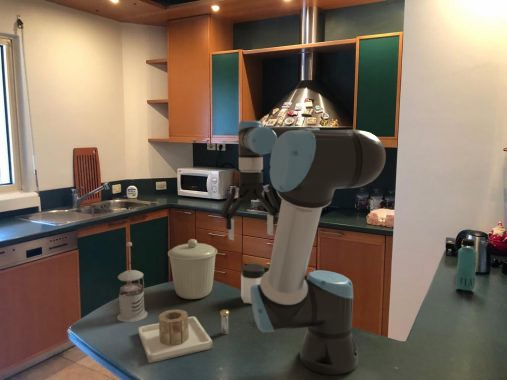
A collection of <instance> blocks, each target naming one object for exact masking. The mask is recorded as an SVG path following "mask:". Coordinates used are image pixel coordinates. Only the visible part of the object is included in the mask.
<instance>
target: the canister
mask: <svg viewBox="0 0 507 380" xmlns="http://www.w3.org/2000/svg"><path fill="white" fill-rule="evenodd" d="M217 254H218V249H217V248H215V247H214V246H213V245H209V244H207V243H201V242H200V243H198V241H197V239H194V238H191V239H189V240H188V241H187V243H183V244H178V245H176V246H174V247H172V248H171V249H170V250H169V251H167V255H168V257H169V259H170V268H171V274H172V281H173V286H174V291H175V293H176V295H177V296H179V297H180V298H181V299H182V298H183V299H186V300H198V299H203V298H205V297H207V296H208V295H209V294H210V293H211V292H212V290H213V283H214V275H215V274H214V273H215V265H216V264H215V263H216V255H217Z"/></svg>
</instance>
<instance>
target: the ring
mask: <svg viewBox="0 0 507 380" xmlns="http://www.w3.org/2000/svg"><path fill="white" fill-rule="evenodd" d="M188 317H189V314H188V312H187V311H186V310H184V309H183V310H182V309H169V310H166V311H162V313H160V314H158V323H159V336H160V342H161V343H162V344H164V345H168V346H170V345H171V346H174V345H179V344H181V343H184V342H185V341H187V340H188V338H189V331H188Z"/></svg>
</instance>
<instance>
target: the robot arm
mask: <svg viewBox="0 0 507 380" xmlns="http://www.w3.org/2000/svg"><path fill="white" fill-rule="evenodd" d="M237 130H238V131H237V134H238V170H239V172H238V187H233V186H230V187H229V191H228V194H227V197H226V200H225V202H224V203H223V206H222V209H221V211H220V213H219V217H220V218H222V219H225V229H227V230H228V239H229V240H231V241H235V219H233V217H234V216H235V214H236V213H237V212H238V210H239V209H240V208H241V206H242V205H243V204H244V203H245V202H249V201H250V202H251V201H257V200H258V201H259V202H260V204H261V205H262V206H263V208H265V210H266V211H267V212H268V214H266V215H267V216H266V217H267V218H266V219H267V220H266V221H267V223H266V226H267V227H266V230H267V231H266V233H267V235H269V236H274V226H275V224H276V216H277V215H278V219H277V224H276V231H275V236H274V240H273V245H272V246H273V247H272V250H271V251H272V252H271V257H270V262H269V263H270V264H269V269H268V270H267V271H265V272H264V275H263V276H262V278H261V282H260V285H258V284H256V285H253V286H252V287H251V290H250V294H251V303H252V304H251V307H252V314H253V317H254V320H255V324H256V326H257V328H258V330H259V331H261V332H262V333H271V332H272V333H277V332H282V331H288V330H296V329H302V328H306V332H305V334H304V337H303V339H302V344H301V345H300V349H299V358H300V362H301V363H302V364H303V366H305V367H306V368H307V369H310V371H313V372H316V373H318V374H322V375H330V376H337V375H345V374H348V373H350V372H352V371H353V370H355V369H356V368H357V366H358V362H359V354H358V353H359V352H358V350H357V346H356V343H355V339H354V336H353V333H352V332H353V331H352V330H353V305H354V304H353V303H354V288H353V287H354V286H353V283H352V280H350V278H348V277H346V275H343V274H341V273H338V272H333V271H329V270H321V269H319V270H318V269H317V270H315V269H314V270H311V271H310V272H308V273H307V269H308V266H309V262H310V259H311V253H312V250H313V246H314V242H315V239H316V234H317V230H318V226H319V222H320V218H321V214H322V210H323V209H324V208H326V207H327V206H329V205H330V204H331V203H332V200H333V198H334V194H335V191H336V190H337V189H338V190H340V189H355V188H360V187H363V186H366V185H367V184H370V183H372V182H373V181H375V180H376V179H377V178H378V177H379V175H380V174H381V173H382V171H383V169H384V166H385V164H386V159H387V157H386V156H387V155H386V150H385V147H384V145H383V142H381V140H380V139H379V138H378V137H377V136H376V135H374V134H372V132H368V131H365V130H359V129H320V128H319V127H317V126H265V125H263V122H262V120H261V121H260V120H241V121H239V123H238V129H237ZM267 154H270V159H269V160H270V161H269V166H270V168H269V178H270V182H271V184H272V185H270V184H265V185H263V183H264V177H263V176H264V172H263V171H262V170H264V160H263V159H264V157H263V156H264V155H267ZM273 188H274V189H275V190H276V193H277V195H278V197H279V198H280V199H281V201H280V202H281V203H280V206H279V203H278V201H277V198H276V196H275V195H274V193H273ZM263 192H265V193H266V196H267V198H268V200H269V202H270V204H269V202H268V201H267V200H266V199H265V196H264V195H263ZM238 193H239V195H238V197H237V199H236V200H235V198H236V195H237V194H238ZM234 200H235V202H234ZM233 202H234V204H233ZM306 273H307V276H306ZM305 277H306V279H305Z"/></svg>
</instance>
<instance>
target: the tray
mask: <svg viewBox="0 0 507 380" xmlns="http://www.w3.org/2000/svg"><path fill="white" fill-rule="evenodd" d="M199 321H200V320H198V318H197V317H196V316H195V315H193V316H188V331H189V338H188V340H187V341H185V342H184V343H181V344H179V345H174V346H171V345H170V346H168V345H164V344H162V343H161V342H160V336H159V322H158V323H152V324H147V325H143V326H138V327H137V332H138V337H139V339H140V341H141V344H142V347H143V350H144V352H145V356H146V358H147V361H148V364H151V363H156V362H161V361H165V360H168V359H173V358H178V357H181V356H185V355H190V354H195V353H198V352H202V351H207V350H212V349H214V342H213V340H212V338H211V337H210V335H209V334H208V333H207V331H206V330H205V328H204V327H203V326H202V325H201V323H200V322H199Z"/></svg>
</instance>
